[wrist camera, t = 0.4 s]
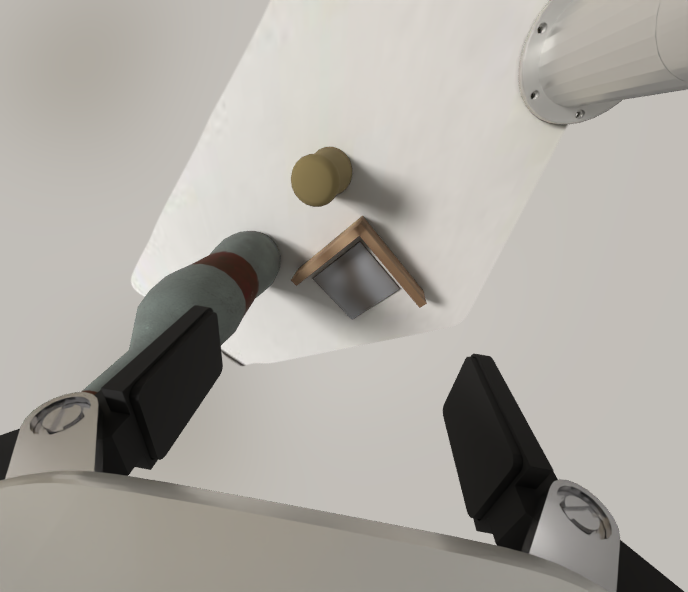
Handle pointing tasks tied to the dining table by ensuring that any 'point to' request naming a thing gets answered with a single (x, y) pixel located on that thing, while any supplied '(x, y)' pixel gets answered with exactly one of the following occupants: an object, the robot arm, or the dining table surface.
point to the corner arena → (359, 271)
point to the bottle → (204, 293)
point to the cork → (321, 176)
